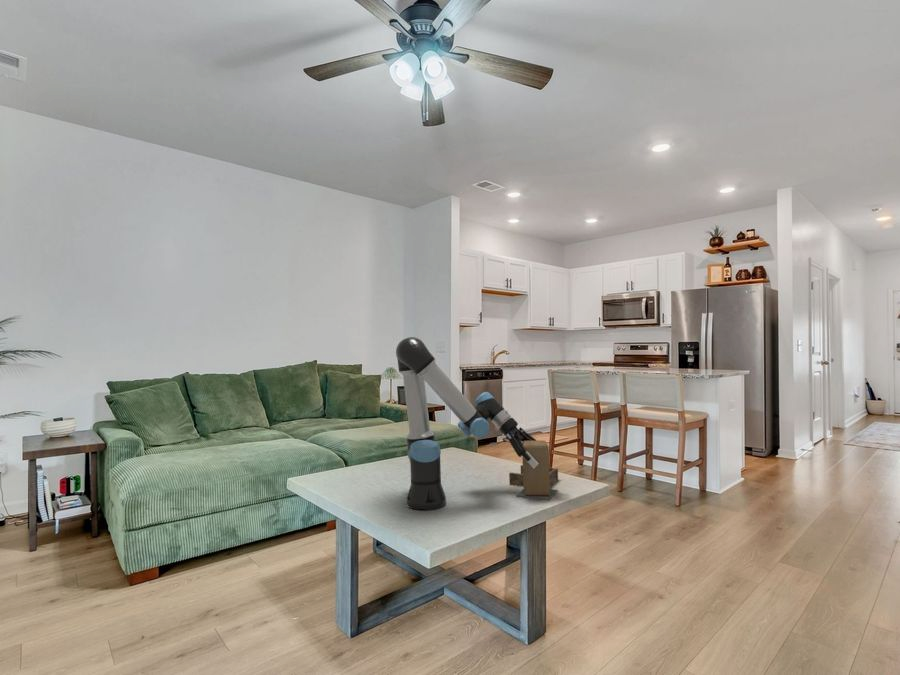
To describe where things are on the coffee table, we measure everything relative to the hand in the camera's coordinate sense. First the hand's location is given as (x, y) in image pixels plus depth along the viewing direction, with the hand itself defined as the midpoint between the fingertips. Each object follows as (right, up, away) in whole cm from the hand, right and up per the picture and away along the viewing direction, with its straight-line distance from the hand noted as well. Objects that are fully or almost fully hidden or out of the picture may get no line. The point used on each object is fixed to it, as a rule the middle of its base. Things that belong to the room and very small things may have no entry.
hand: (541, 462), depth 190 cm
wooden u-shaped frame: (+1, -13, +18) cm, 22 cm away
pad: (-2, -13, +1) cm, 13 cm away
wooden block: (-2, -12, +1) cm, 13 cm away
